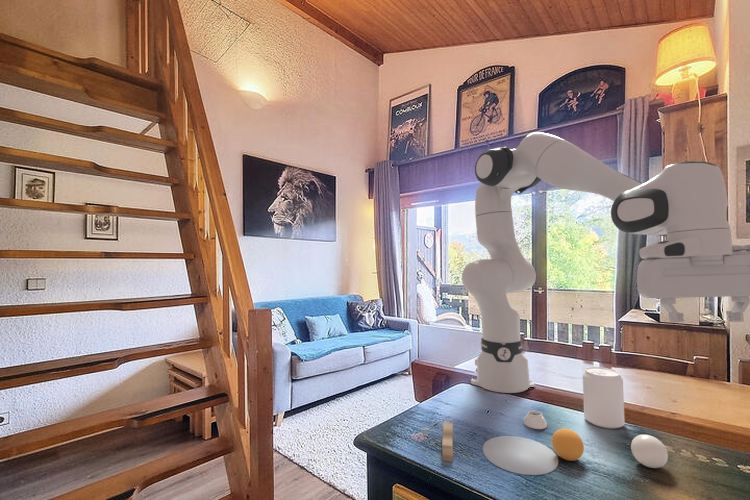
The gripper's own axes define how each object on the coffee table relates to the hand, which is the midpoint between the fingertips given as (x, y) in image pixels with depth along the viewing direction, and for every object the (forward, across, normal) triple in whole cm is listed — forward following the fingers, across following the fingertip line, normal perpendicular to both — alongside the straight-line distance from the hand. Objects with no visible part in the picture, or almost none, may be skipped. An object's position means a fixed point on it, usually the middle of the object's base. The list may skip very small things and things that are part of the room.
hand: (705, 321), depth 66 cm
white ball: (+24, +11, -1) cm, 26 cm away
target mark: (+26, +34, -2) cm, 43 cm away
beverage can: (+26, +11, -19) cm, 34 cm away
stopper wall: (+26, +48, -2) cm, 54 cm away
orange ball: (+24, +25, -1) cm, 34 cm away
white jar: (+26, +27, -16) cm, 41 cm away
